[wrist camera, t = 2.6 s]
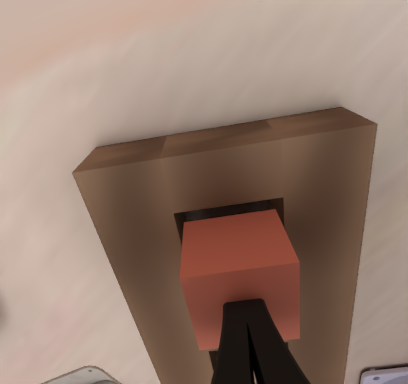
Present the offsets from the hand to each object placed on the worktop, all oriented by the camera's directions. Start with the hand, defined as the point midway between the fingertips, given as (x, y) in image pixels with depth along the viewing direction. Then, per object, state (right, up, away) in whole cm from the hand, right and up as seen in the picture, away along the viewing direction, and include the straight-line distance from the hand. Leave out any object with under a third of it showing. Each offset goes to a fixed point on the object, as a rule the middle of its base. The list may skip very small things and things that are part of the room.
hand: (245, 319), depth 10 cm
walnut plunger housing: (+1, -1, +8) cm, 9 cm away
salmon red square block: (0, +2, +3) cm, 4 cm away
